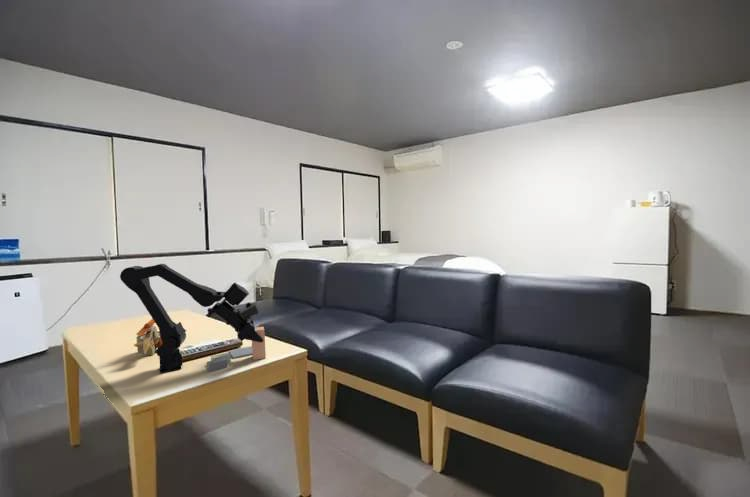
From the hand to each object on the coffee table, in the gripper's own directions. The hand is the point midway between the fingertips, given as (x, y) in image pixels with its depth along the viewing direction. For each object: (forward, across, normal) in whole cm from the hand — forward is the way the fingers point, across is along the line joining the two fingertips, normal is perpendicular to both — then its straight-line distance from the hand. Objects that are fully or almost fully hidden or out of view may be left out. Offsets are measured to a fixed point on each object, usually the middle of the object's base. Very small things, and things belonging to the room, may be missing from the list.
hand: (262, 339), depth 135 cm
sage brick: (-6, +1, +15) cm, 16 cm away
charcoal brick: (-6, -5, +16) cm, 18 cm away
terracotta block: (+4, 0, +6) cm, 7 cm away
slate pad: (+1, +8, +9) cm, 12 cm away
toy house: (-24, +22, +34) cm, 47 cm away
